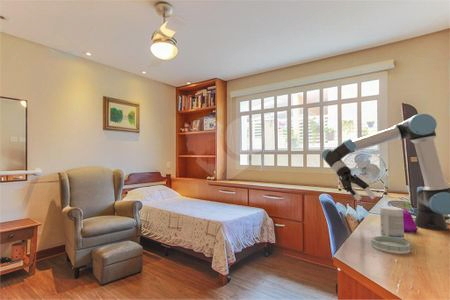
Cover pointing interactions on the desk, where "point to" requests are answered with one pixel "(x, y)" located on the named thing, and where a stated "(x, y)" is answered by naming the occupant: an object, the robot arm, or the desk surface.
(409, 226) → the magenta faceted rounded piece
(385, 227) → the supplement tub
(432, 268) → the desk surface
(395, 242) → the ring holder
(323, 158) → the robot arm
